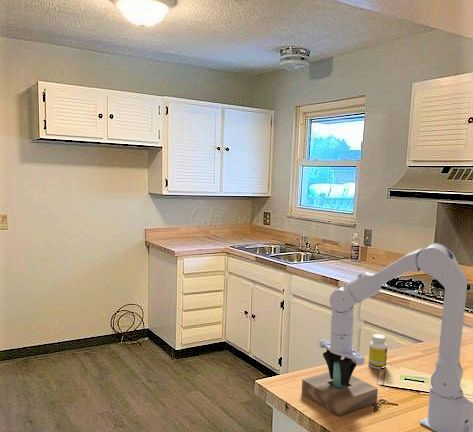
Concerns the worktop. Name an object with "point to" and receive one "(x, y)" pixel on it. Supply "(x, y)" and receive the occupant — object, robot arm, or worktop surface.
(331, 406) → the socket block
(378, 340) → the supplement bottle
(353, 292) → the robot arm
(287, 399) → the worktop surface
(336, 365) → the teal pin
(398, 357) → the worktop surface
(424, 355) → the worktop surface
